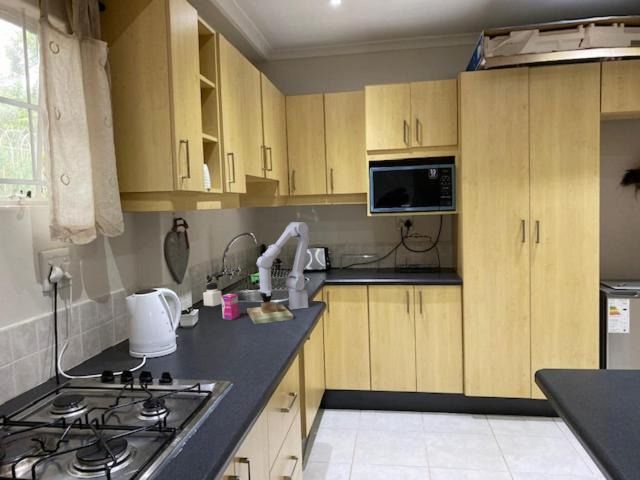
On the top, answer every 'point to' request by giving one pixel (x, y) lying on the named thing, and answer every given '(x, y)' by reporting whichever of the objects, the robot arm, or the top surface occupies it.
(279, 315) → the trap deck
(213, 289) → the medicine bottle
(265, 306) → the walnut block
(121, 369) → the top surface
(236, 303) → the supplement box
